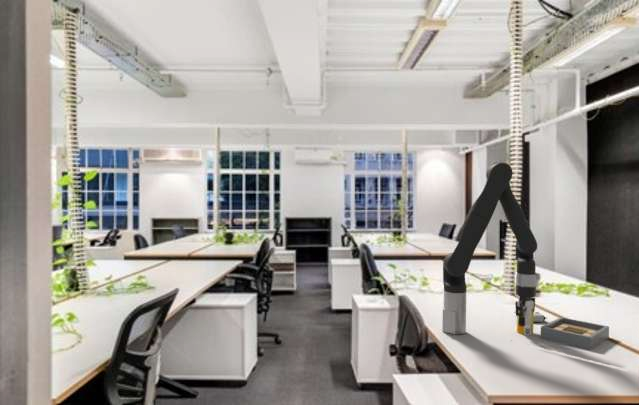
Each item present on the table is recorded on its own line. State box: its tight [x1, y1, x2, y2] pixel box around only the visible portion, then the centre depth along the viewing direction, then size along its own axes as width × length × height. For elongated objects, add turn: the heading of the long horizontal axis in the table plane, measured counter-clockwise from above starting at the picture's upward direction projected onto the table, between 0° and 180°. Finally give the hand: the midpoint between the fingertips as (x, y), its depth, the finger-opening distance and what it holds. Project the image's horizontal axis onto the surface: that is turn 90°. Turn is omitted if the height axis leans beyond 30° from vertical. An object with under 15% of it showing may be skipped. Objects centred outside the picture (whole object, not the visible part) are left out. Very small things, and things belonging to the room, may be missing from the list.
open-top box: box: [540, 317, 610, 351], centre depth 178 cm, size 22×18×6 cm
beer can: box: [516, 299, 535, 336], centre depth 184 cm, size 6×6×15 cm
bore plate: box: [552, 323, 598, 336], centre depth 178 cm, size 14×14×3 cm
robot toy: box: [514, 311, 548, 323], centre depth 206 cm, size 12×4×15 cm
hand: (525, 324), depth 184 cm, fingers open, 6 cm apart
